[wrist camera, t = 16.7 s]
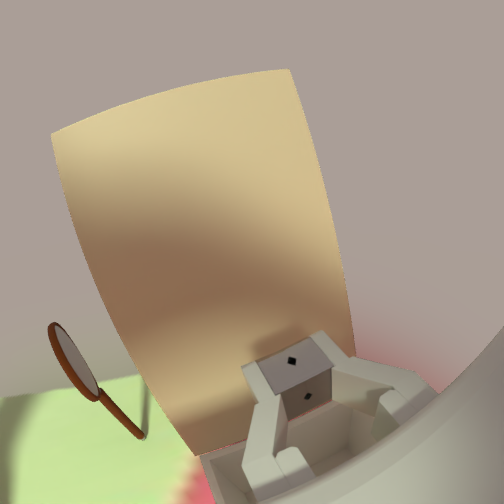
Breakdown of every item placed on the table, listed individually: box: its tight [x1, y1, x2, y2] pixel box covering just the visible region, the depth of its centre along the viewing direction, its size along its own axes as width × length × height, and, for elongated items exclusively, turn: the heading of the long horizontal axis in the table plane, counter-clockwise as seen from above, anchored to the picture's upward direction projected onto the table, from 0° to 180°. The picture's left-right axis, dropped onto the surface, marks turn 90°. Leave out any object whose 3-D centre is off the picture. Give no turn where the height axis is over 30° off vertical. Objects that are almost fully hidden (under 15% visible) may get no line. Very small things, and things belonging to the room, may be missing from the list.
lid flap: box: [51, 69, 356, 456], centre depth 16 cm, size 14×22×1 cm
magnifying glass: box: [48, 322, 146, 441], centre depth 25 cm, size 9×2×20 cm, turn 40°
